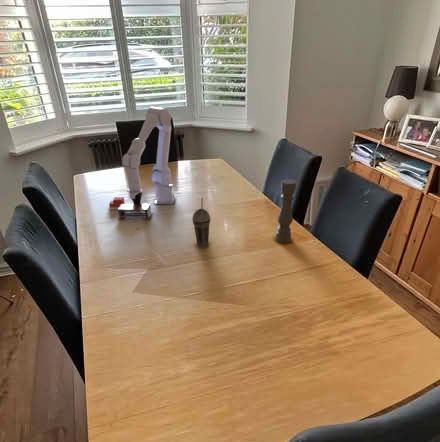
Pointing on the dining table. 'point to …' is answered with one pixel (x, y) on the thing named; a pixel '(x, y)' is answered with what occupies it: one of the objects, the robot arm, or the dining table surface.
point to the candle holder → (285, 211)
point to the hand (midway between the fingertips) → (138, 207)
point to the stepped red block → (116, 202)
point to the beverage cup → (201, 226)
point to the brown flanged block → (134, 210)
